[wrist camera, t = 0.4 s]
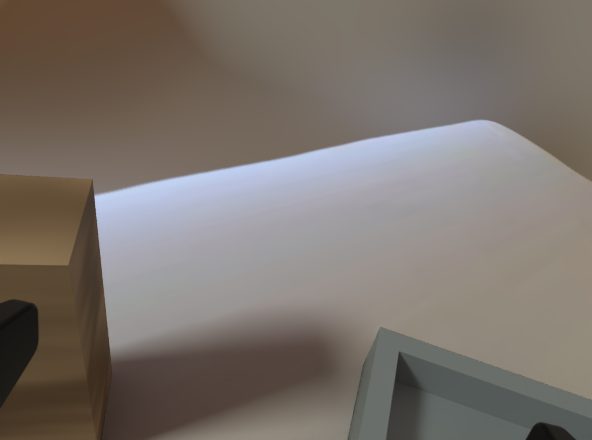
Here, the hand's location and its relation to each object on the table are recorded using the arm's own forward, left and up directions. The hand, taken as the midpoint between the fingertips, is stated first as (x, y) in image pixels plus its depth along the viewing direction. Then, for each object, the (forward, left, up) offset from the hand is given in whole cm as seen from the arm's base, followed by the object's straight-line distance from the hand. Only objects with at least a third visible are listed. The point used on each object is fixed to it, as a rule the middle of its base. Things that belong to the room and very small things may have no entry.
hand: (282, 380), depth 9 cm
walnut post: (+5, +10, -16) cm, 20 cm away
